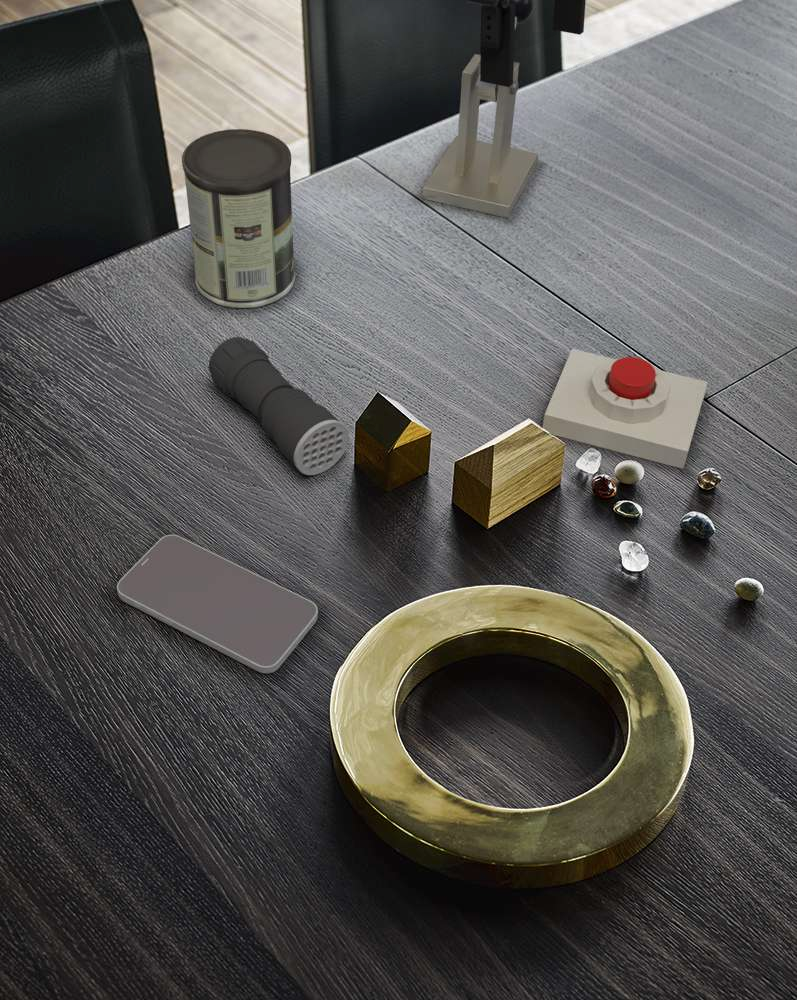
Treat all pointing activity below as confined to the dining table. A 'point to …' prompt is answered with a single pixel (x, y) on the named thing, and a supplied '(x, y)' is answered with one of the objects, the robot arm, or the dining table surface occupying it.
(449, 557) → the dining table surface
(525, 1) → the lever
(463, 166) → the stand
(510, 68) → the robot arm
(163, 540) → the smartphone
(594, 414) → the stop box
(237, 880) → the dining table surface
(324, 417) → the flashlight
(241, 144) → the coffee can
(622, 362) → the stop button
